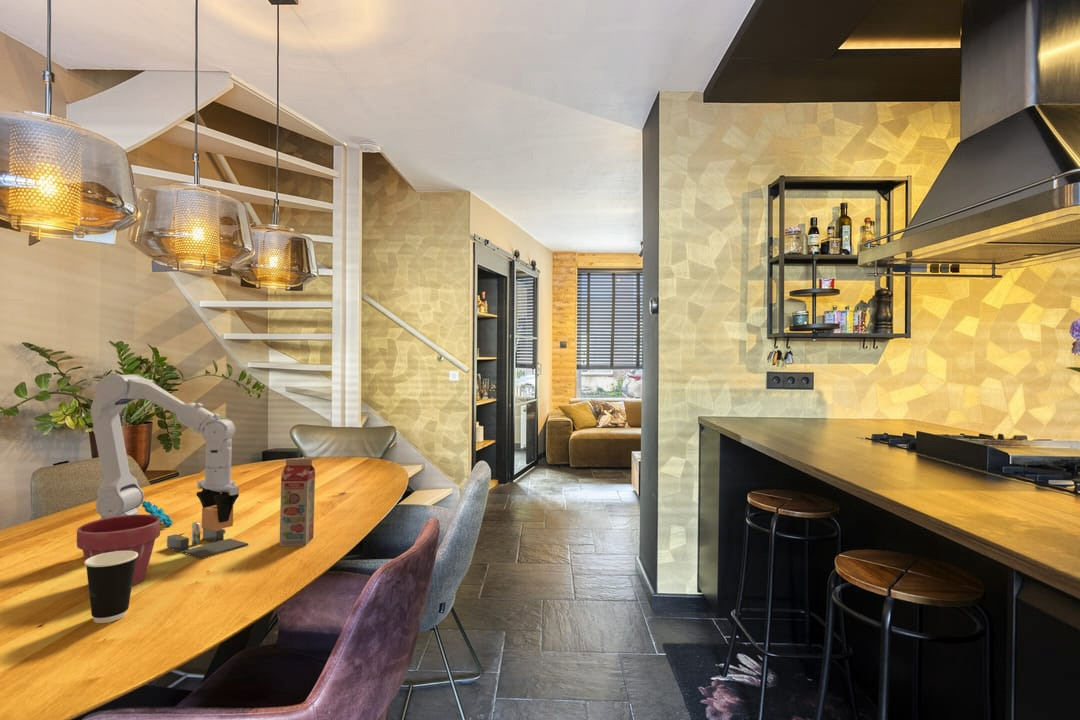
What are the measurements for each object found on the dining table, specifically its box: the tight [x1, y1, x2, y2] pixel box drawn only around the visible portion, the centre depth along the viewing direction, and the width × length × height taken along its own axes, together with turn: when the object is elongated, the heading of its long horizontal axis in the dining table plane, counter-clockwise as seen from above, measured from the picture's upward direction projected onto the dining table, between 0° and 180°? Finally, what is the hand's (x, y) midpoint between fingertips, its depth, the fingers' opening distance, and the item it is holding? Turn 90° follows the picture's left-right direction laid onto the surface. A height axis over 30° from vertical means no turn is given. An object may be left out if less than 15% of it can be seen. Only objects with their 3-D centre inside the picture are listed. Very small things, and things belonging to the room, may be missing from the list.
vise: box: [166, 521, 226, 553], centre depth 146 cm, size 13×6×6 cm, turn 151°
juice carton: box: [278, 458, 316, 547], centre depth 148 cm, size 7×7×22 cm
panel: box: [182, 538, 249, 559], centre depth 141 cm, size 12×8×1 cm, turn 151°
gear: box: [141, 500, 174, 527], centre depth 159 cm, size 11×6×10 cm
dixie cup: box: [84, 551, 138, 624], centre depth 103 cm, size 8×8×11 cm
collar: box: [201, 505, 234, 531], centre depth 142 cm, size 5×5×5 cm
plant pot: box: [76, 514, 161, 586], centre depth 119 cm, size 14×14×13 cm
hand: (217, 520), depth 141 cm, fingers closed on collar, 5 cm apart
